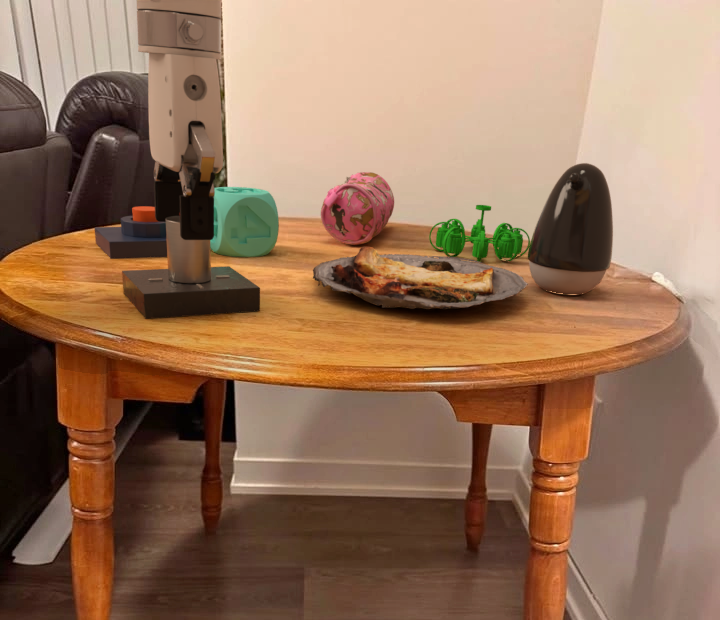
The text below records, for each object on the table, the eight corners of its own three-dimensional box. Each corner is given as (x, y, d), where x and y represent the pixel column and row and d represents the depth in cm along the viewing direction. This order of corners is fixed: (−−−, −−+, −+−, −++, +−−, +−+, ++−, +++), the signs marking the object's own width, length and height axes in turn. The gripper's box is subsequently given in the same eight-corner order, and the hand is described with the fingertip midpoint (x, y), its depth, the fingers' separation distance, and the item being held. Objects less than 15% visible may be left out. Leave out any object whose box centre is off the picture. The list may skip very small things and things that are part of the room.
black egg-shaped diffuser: (511, 291, 97) (532, 160, 90) (535, 277, 105) (555, 156, 98) (593, 305, 93) (621, 170, 86) (611, 289, 101) (637, 165, 94)
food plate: (277, 296, 88) (277, 264, 86) (361, 262, 107) (362, 235, 105) (491, 335, 79) (496, 301, 78) (540, 290, 98) (545, 262, 97)
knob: (216, 282, 81) (215, 219, 78) (174, 284, 79) (171, 220, 76) (204, 272, 84) (202, 212, 82) (163, 274, 83) (160, 212, 80)
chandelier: (522, 248, 123) (530, 203, 120) (532, 268, 110) (540, 218, 107) (428, 241, 124) (433, 195, 121) (426, 259, 111) (432, 209, 108)
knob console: (145, 319, 77) (143, 292, 75) (123, 293, 84) (121, 269, 83) (260, 311, 82) (260, 285, 80) (229, 288, 89) (229, 264, 88)
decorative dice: (278, 256, 106) (279, 195, 103) (223, 259, 103) (222, 195, 99) (257, 245, 113) (257, 186, 109) (203, 246, 109) (202, 186, 105)
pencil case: (340, 222, 134) (343, 168, 130) (393, 227, 134) (397, 172, 129) (317, 245, 116) (319, 181, 111) (378, 250, 115) (383, 187, 111)
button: (136, 224, 101) (135, 210, 100) (130, 219, 104) (129, 206, 103) (164, 224, 103) (163, 210, 102) (157, 219, 105) (156, 206, 105)
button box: (110, 259, 98) (108, 226, 97) (95, 243, 106) (93, 213, 104) (203, 256, 104) (202, 225, 102) (182, 241, 111) (181, 212, 109)
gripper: (250, 43, 67) (247, 247, 74) (193, 42, 80) (195, 215, 88) (163, 33, 63) (169, 247, 71) (118, 34, 77) (127, 215, 84)
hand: (183, 229), depth 79 cm, fingers open, 9 cm apart
